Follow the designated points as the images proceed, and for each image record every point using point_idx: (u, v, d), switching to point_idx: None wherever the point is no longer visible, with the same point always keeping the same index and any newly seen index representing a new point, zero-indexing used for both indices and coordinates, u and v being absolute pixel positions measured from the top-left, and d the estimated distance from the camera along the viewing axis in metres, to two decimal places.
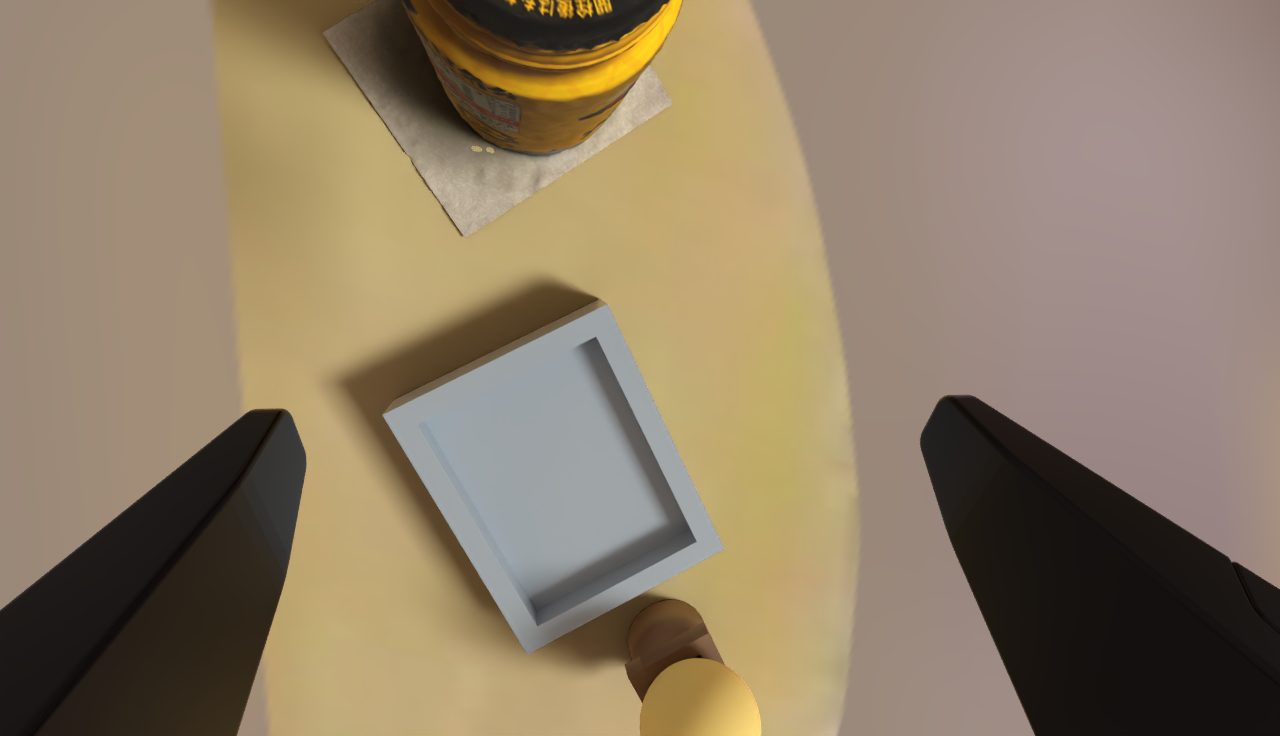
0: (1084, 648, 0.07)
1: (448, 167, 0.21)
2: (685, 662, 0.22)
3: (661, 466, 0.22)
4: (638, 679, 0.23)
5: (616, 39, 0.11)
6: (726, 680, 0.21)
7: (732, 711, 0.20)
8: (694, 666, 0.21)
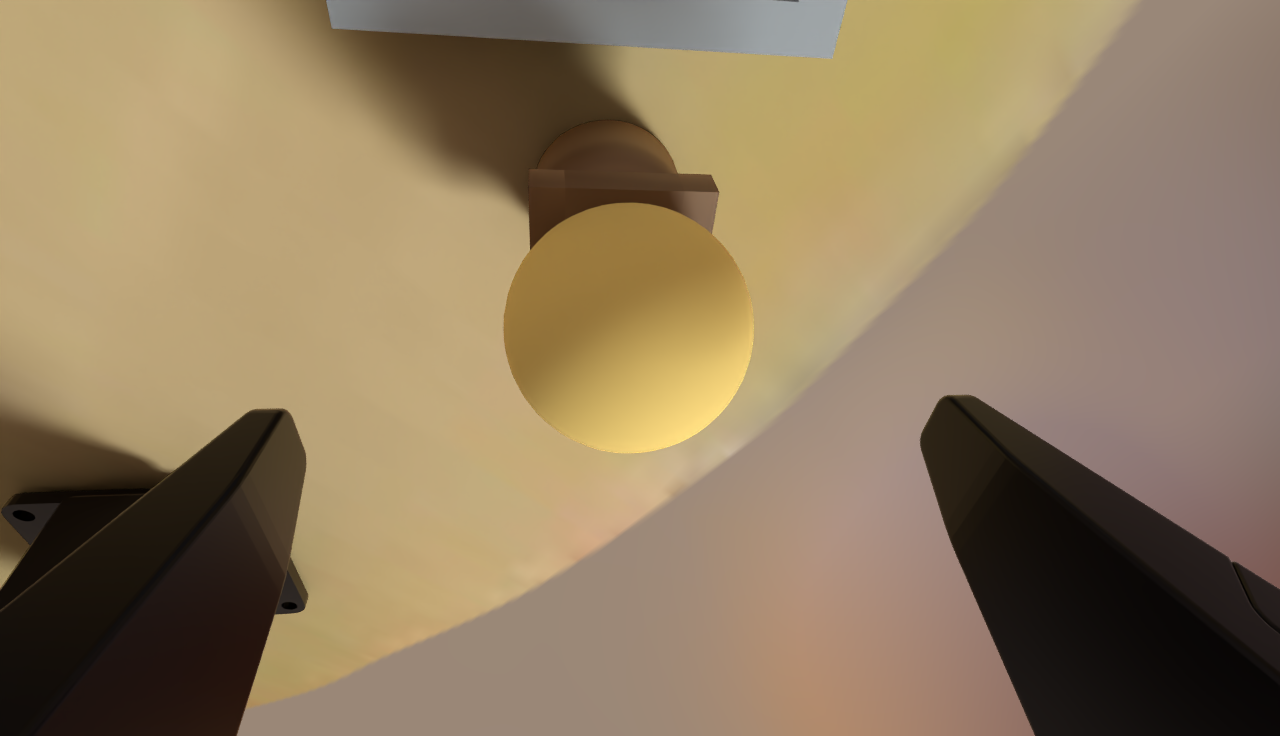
0: (1084, 648, 0.07)
1: None
2: (663, 207, 0.10)
3: None
4: (545, 203, 0.11)
5: None
6: (735, 272, 0.09)
7: (727, 328, 0.09)
8: (682, 218, 0.09)
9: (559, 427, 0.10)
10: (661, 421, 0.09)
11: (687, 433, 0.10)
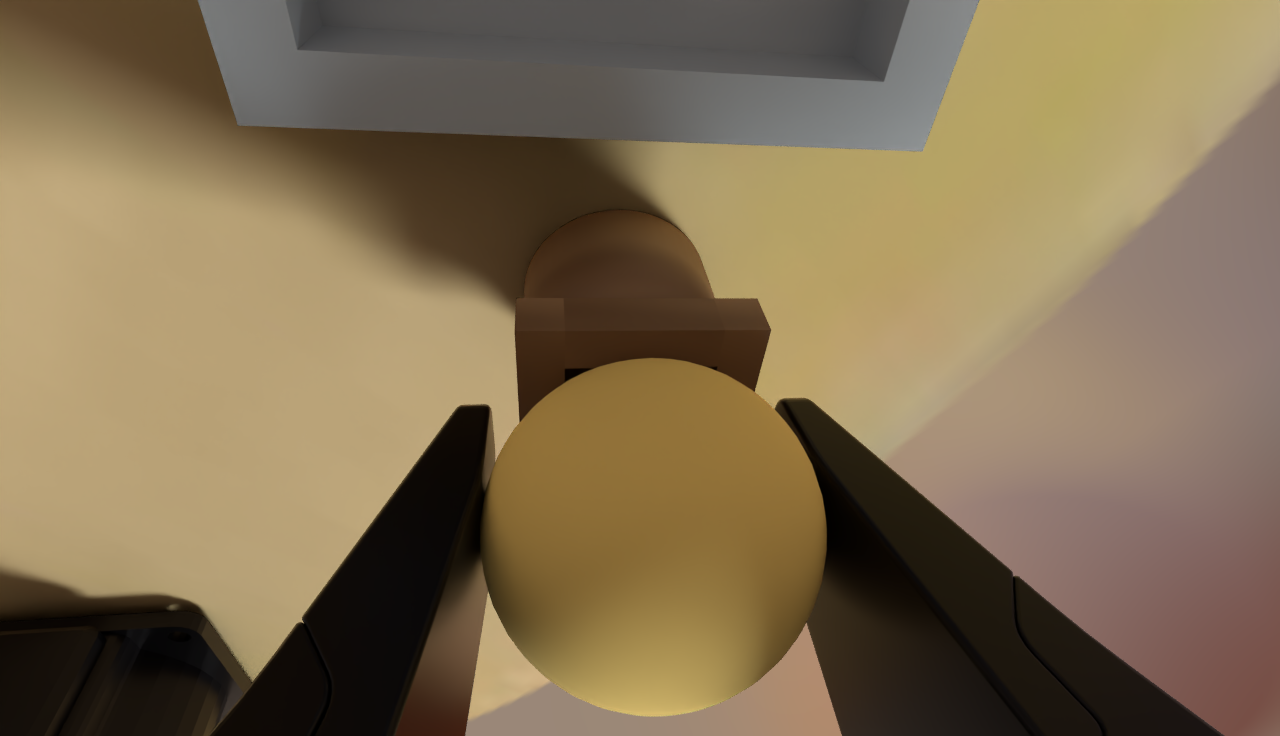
0: (877, 666, 0.07)
1: None
2: (702, 371, 0.07)
3: None
4: (538, 349, 0.08)
5: None
6: (805, 472, 0.07)
7: (800, 567, 0.06)
8: (729, 396, 0.07)
9: (557, 685, 0.07)
10: (704, 700, 0.06)
11: (737, 693, 0.07)
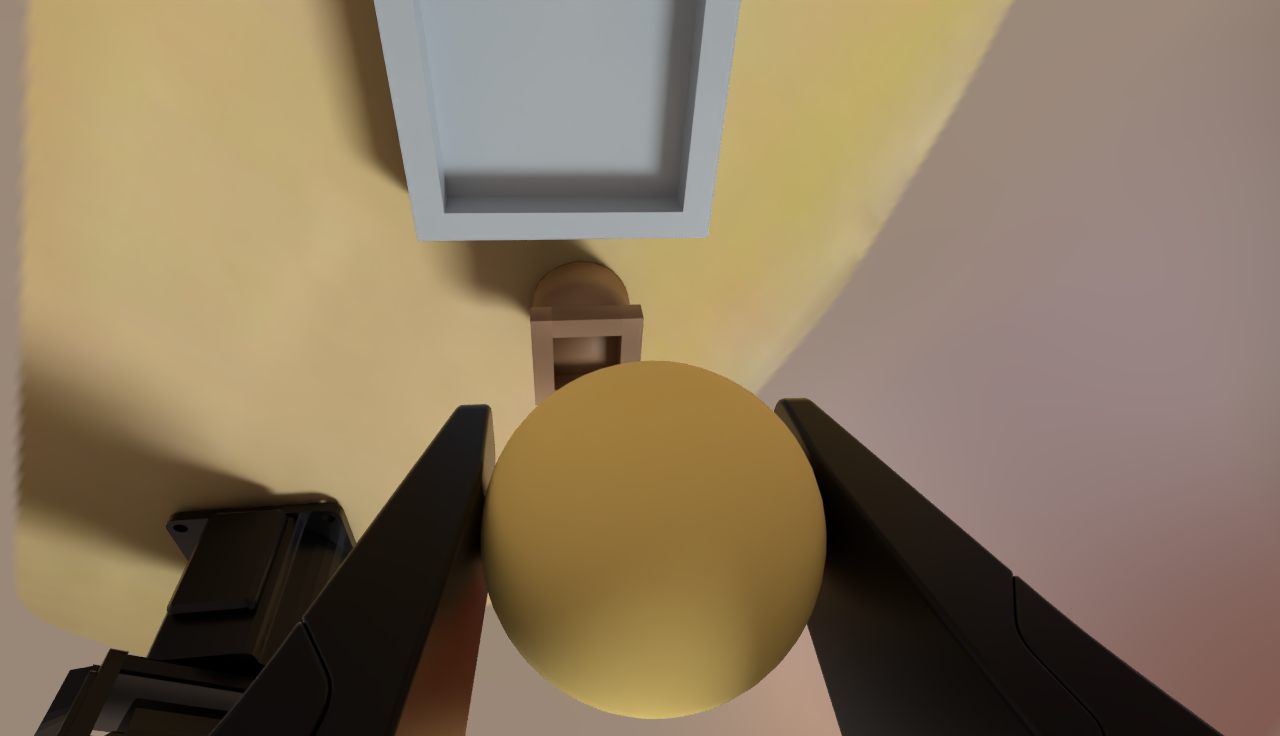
0: (877, 665, 0.07)
1: None
2: (702, 374, 0.07)
3: (698, 89, 0.16)
4: (540, 329, 0.18)
5: None
6: (804, 475, 0.07)
7: (799, 570, 0.06)
8: (730, 399, 0.07)
9: (557, 687, 0.07)
10: (704, 703, 0.06)
11: None
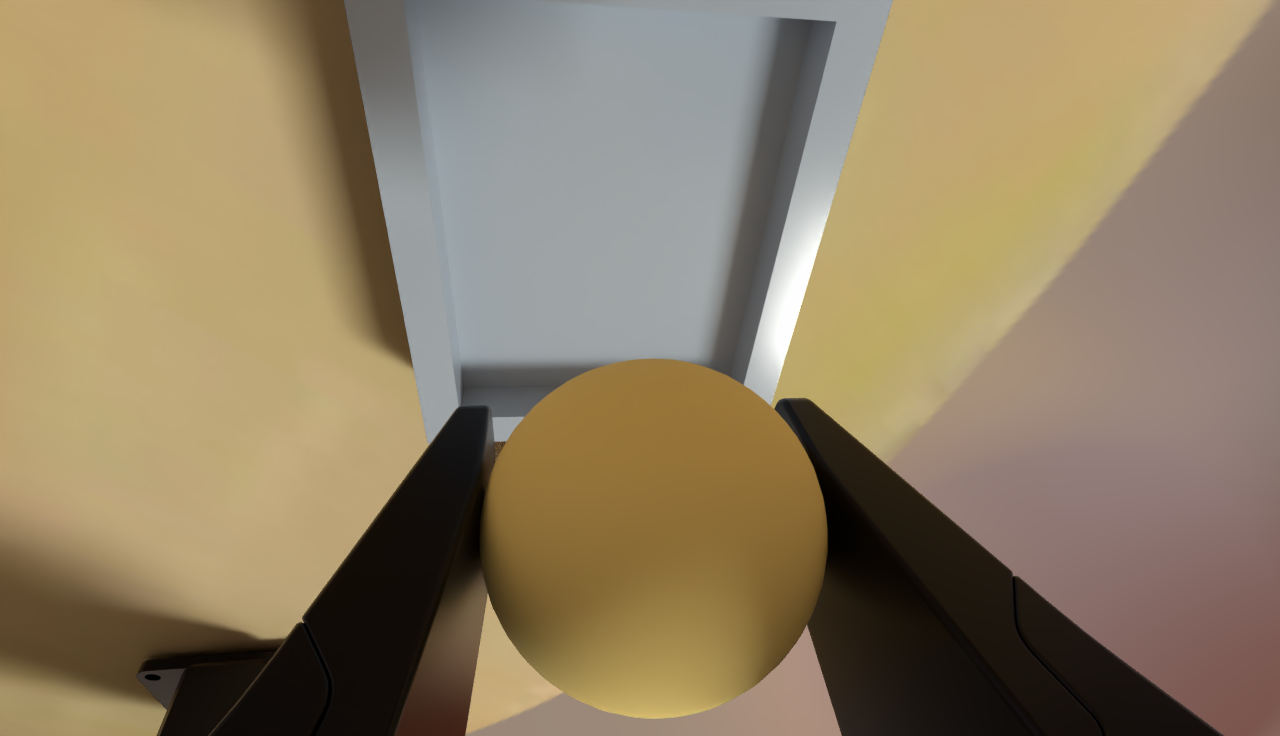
0: (877, 665, 0.07)
1: None
2: (702, 372, 0.07)
3: (768, 299, 0.13)
4: None
5: None
6: (806, 474, 0.07)
7: (800, 569, 0.06)
8: (730, 396, 0.07)
9: None
10: (704, 702, 0.06)
11: None
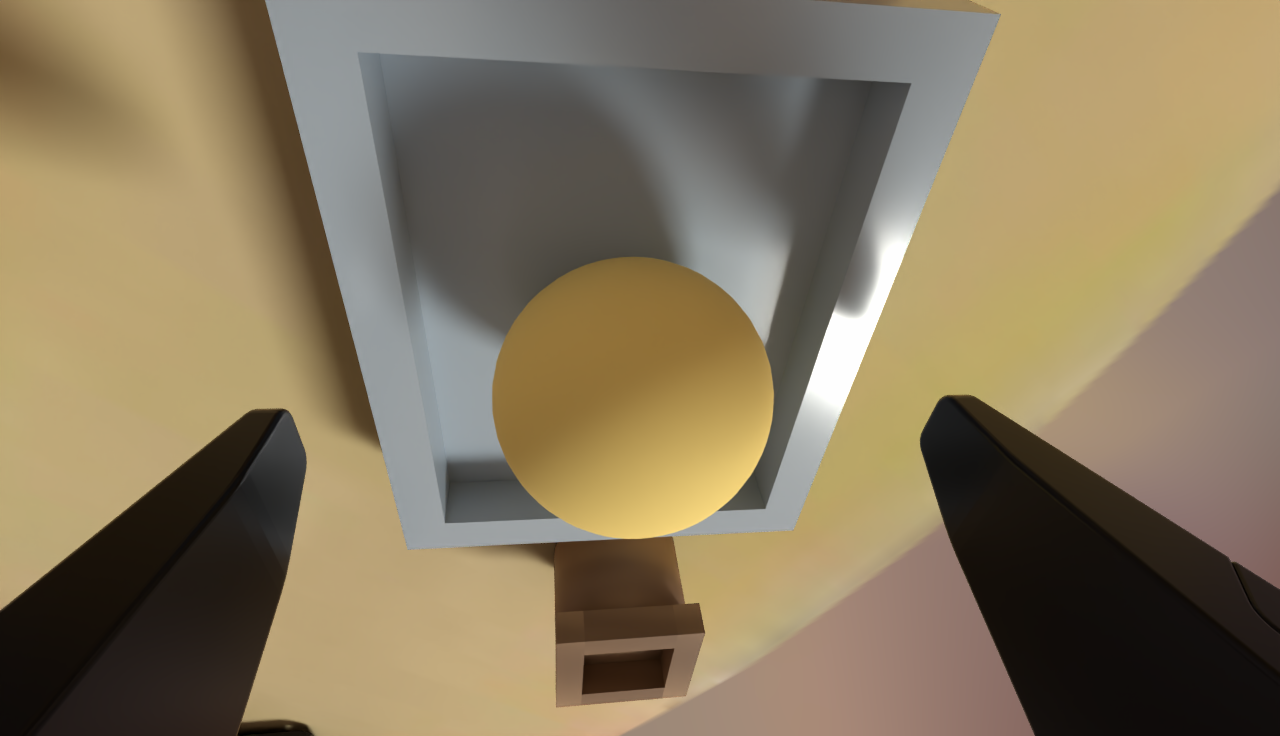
0: (1083, 648, 0.07)
1: None
2: (672, 263, 0.09)
3: (808, 394, 0.11)
4: (569, 649, 0.14)
5: None
6: (753, 339, 0.08)
7: (746, 406, 0.08)
8: (693, 278, 0.08)
9: (555, 513, 0.09)
10: (671, 513, 0.08)
11: (700, 519, 0.09)
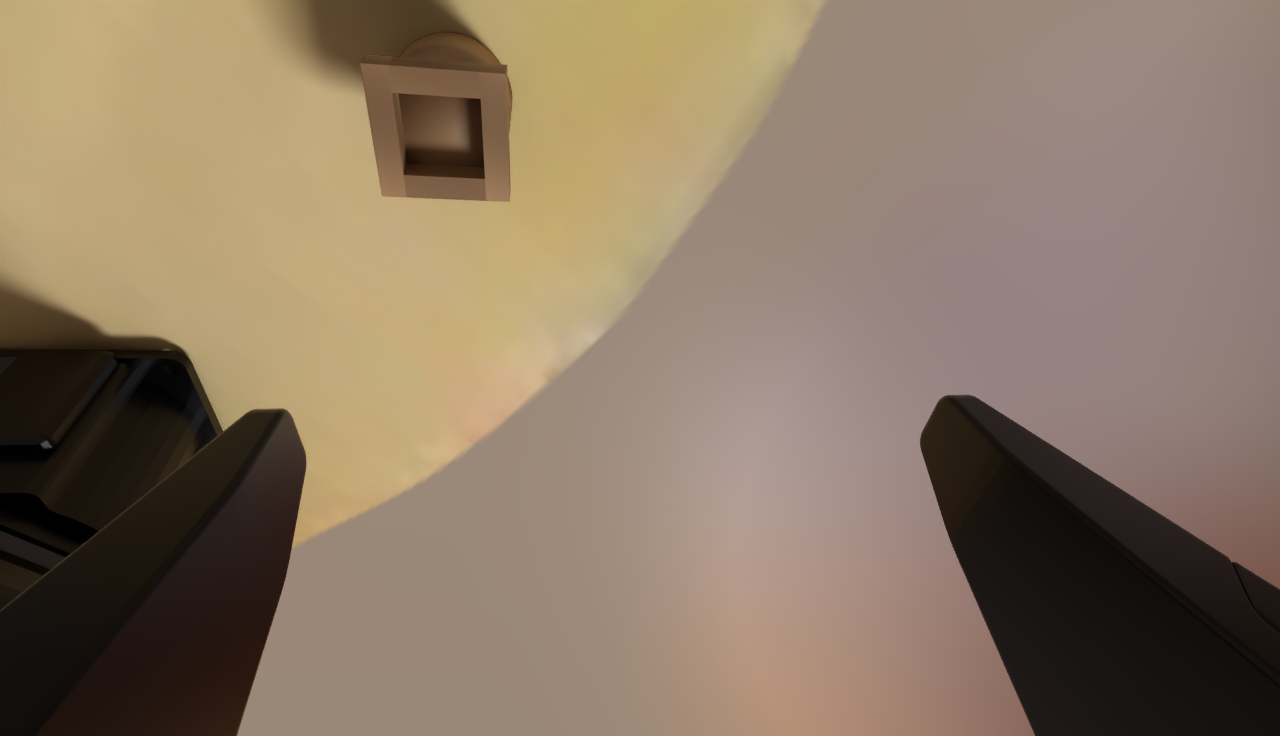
0: (1084, 648, 0.07)
1: None
2: None
3: None
4: (375, 77, 0.15)
5: None
6: None
7: None
8: None
9: None
10: None
11: None
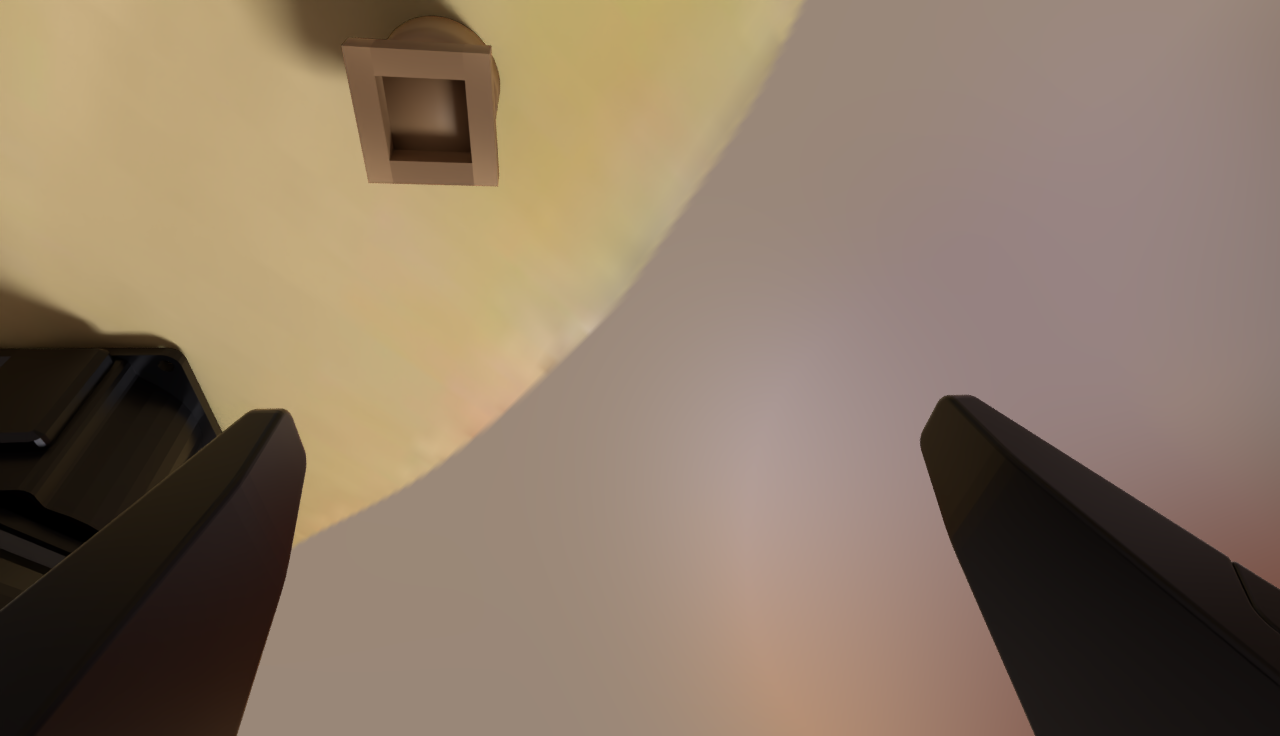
0: (1084, 648, 0.07)
1: None
2: None
3: None
4: (356, 60, 0.14)
5: None
6: None
7: None
8: None
9: None
10: None
11: None
